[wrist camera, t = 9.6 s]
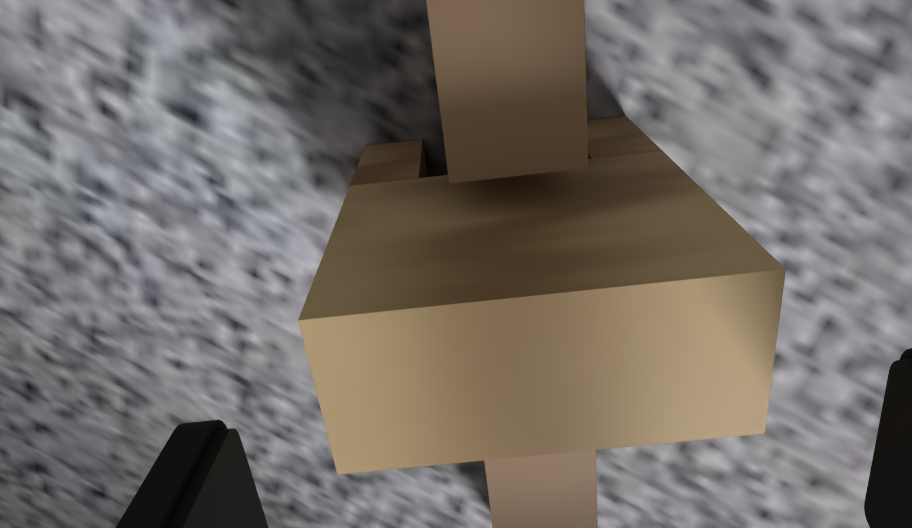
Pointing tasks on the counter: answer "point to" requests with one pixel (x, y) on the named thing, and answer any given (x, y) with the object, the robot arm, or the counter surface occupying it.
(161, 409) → the counter surface
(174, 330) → the counter surface
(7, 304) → the counter surface
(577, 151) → the notched wooden beam
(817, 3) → the counter surface
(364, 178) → the wooden u-shaped arch
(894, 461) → the robot arm
